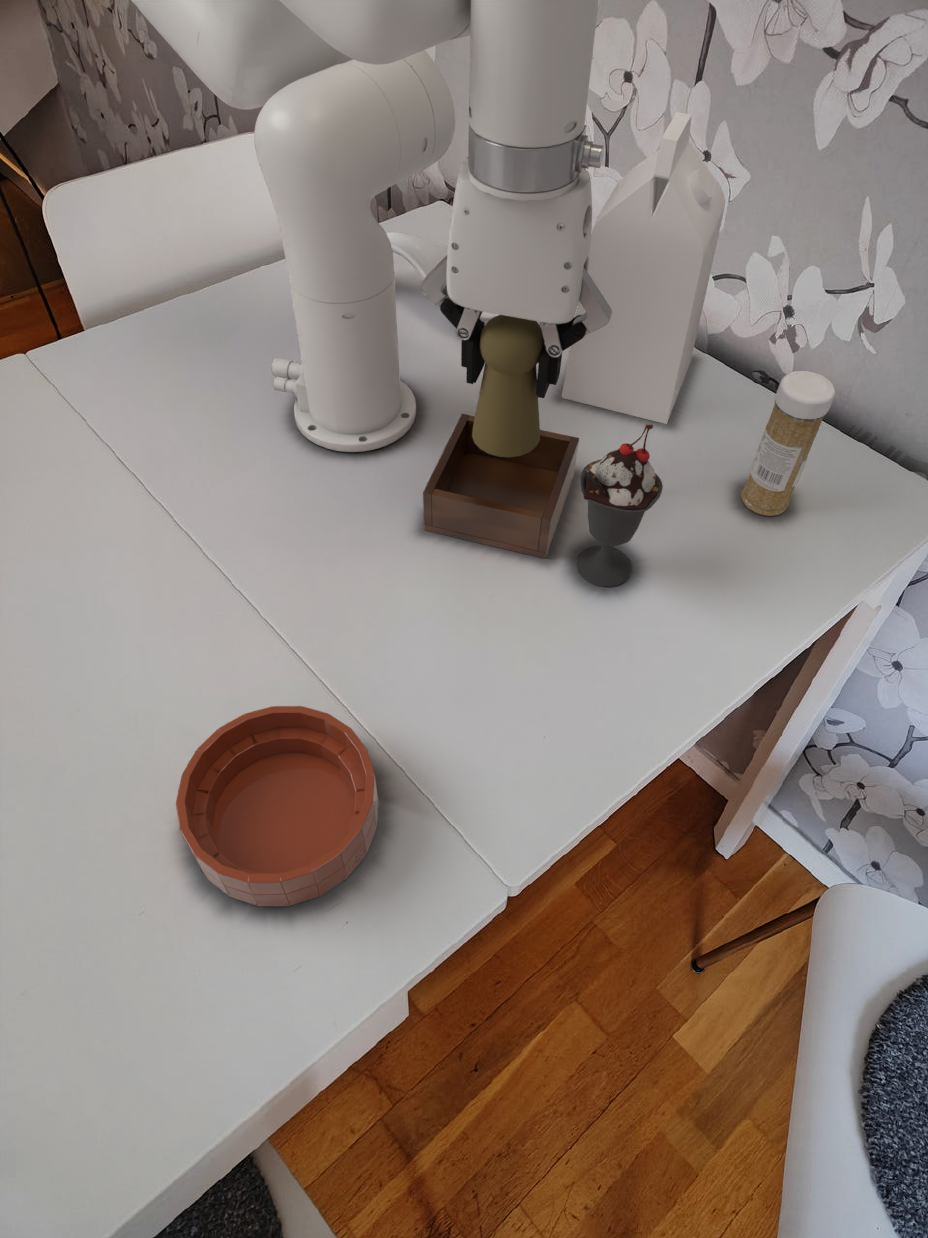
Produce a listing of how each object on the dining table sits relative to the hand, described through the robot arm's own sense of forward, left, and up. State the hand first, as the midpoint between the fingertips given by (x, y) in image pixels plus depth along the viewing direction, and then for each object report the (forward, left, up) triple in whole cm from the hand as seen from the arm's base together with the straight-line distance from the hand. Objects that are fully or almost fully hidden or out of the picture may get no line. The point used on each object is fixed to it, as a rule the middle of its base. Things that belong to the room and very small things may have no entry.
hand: (509, 379), depth 72 cm
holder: (0, 0, -14) cm, 14 cm away
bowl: (-6, -36, -14) cm, 39 cm away
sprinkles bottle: (+24, +8, -14) cm, 29 cm away
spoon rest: (-16, +30, -14) cm, 37 cm away
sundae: (+11, -5, -14) cm, 19 cm away
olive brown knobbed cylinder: (0, 0, -6) cm, 6 cm away
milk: (+8, +23, -14) cm, 28 cm away
